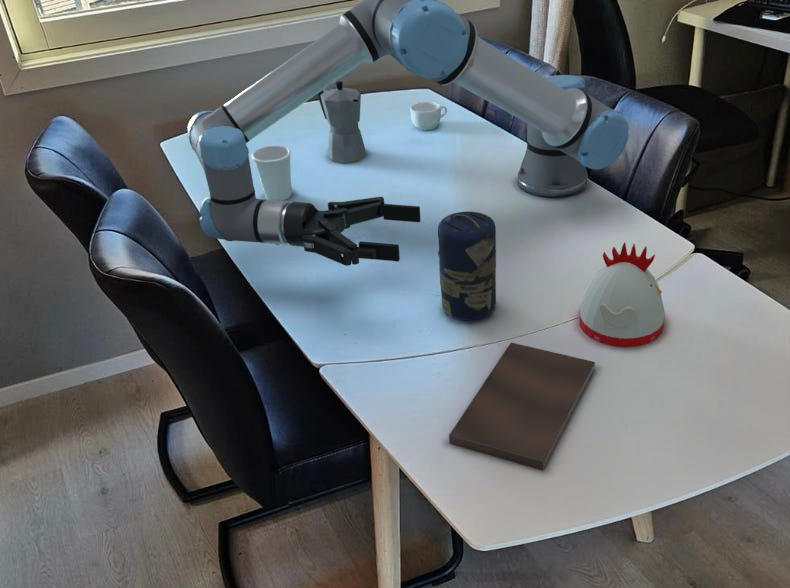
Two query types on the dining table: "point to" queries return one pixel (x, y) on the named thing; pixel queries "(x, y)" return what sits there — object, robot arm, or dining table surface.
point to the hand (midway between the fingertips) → (409, 233)
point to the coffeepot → (343, 123)
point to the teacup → (426, 114)
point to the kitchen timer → (623, 301)
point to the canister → (467, 264)
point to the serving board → (523, 405)
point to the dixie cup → (274, 171)
